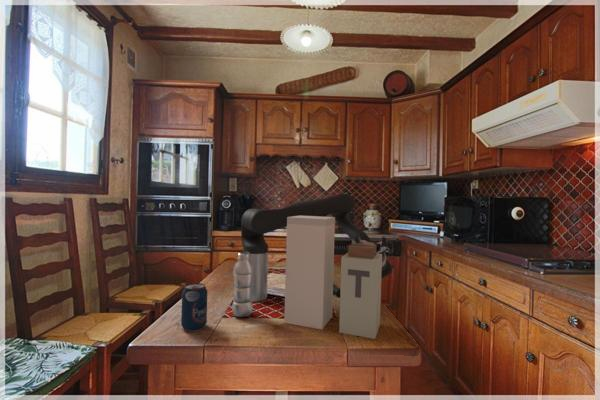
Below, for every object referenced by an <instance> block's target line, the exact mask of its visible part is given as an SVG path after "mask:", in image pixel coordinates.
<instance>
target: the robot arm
mask: <svg viewBox="0 0 600 400" xmlns="http://www.w3.org/2000/svg"><path fill="white" fill-rule="evenodd" d="M355 206H356V200H355V198H354V197H353V196H352V195H350V194H349V193H344V192H343V193H338V194H334V195H331V196H327V197H325V198H317V199H312V200H304V201H298V202H294V203H291V204H289V205H287V206H285V207H282V208H276V209H273V208H271V209H263V208H262V209H260V208H249V209H247V210H246V211H245V212H244V213H243V214H242V217H241V220H240V221H241V223H240V224H241V225H240V226H241V227H240V231H241V232H240V233H241V235H240V237H241V238H240V239H241V241H240V242H241V246H242V249H243V250H242V252H249V253H250V255H249V257H250V259H249V261H250V263H251V264H252V266H253V277H252V285H251V298H252V302H262V301H265V300H267V297H268V277H269V276H268V270H269V245H268V243H267V241H266V240H265V236H264V235H265V234H268V233H271V232H274V231H276V230H280V229H283V228H287V217H292V216H320V217H328V216H329V215H331V217H335V223H337V224H338V225H339V226H340V228H341V229H342V230H343V231H344V233H346V235H347V237H348V238H349V239H350V240H351V244H352V243H359V244H364V243H365V242H368V243H374V245H376V254H382V274H381V280H382V279H383V278H386V277H387V276H389V275H391V274H392V273H393V272H394V271H393V269H394V268H393V265H392V263H391V262H390V261H389V260H388V259H387V256H386V253H388V254H389V255H391V256H393V255H394V242H393V241H390V242H389V241H388V239H387V238H386V237H385V236H382V237H381V241H379V242H376V241H372V240H371V238H370V237H369V235H368V234H367V233H365V232H364V231H363V230H361V229H360V228H359V227H357V226H356V225H354V224H353V222H351V220H350V218H349V217H348V215H349V214H350V213H352V211H354V209H355Z"/></svg>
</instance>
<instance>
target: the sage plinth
mask: <svg viewBox="0 0 600 400" xmlns="http://www.w3.org/2000/svg"><path fill="white" fill-rule="evenodd" d="M340 266H341V267H340V289H341V290H340V297H339V323H338V324H339V325H338V327H339V328H338V330H339V332H338V333H340V334H345V335H351V336H355V337H361V338H367V339H373V340H376V338H377V335H378V332H379V328H380V325H381V304H382V303H381V301H382V300H381V299H382V279H381V274H382V254H376V256H375V257H374V258H373V259H369V258H358V257H348V252H347V253H345V254H344V255H343V256H341V262H340Z"/></svg>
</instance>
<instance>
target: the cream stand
mask: <svg viewBox="0 0 600 400" xmlns="http://www.w3.org/2000/svg"><path fill="white" fill-rule="evenodd" d="M335 231H336V220H335V217H332V216H325V217H320V216H292V217H287V227H286V246H285V247H286V248H285V249H286V250H285V251H286V252H285V278H284V279H285V282H284V283H285V285H284V286H285V287H284V314H283V315H284V316H283V317H284V321H283V322H284V323H285V324H289V325H294V326H299V327H300V326H301V327H304V328H305V327H306V328H311V329H317V330H323V329H324V328H325V327H326V325H327V324H328V323H329V321H330V320H331V319H332V318H333V305H334V303H333V300H334V293H333V283H334V269H335V268H334V266H335V233H336V232H335Z"/></svg>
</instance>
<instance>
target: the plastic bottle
mask: <svg viewBox="0 0 600 400" xmlns="http://www.w3.org/2000/svg"><path fill="white" fill-rule="evenodd" d="M237 253H238V254H237V259H238V260H237V261H236V263H235V264H234V266H233V269H232V271H233V280H234V282H233V283H234V284H233V285H234V294H233V300H232V301H233V302H232V306H231V309H232V314H233V315H234V316H235V317H237V318H245V317H246V318H247V317H249V316H251V314H252V313H253V308H254V307H253V301H252V298H251V285H252V277H253V266H252V264H251V263H250V261H249V259H250V257H249V255H250V253H249V252H243V251H239V252H237Z"/></svg>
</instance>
